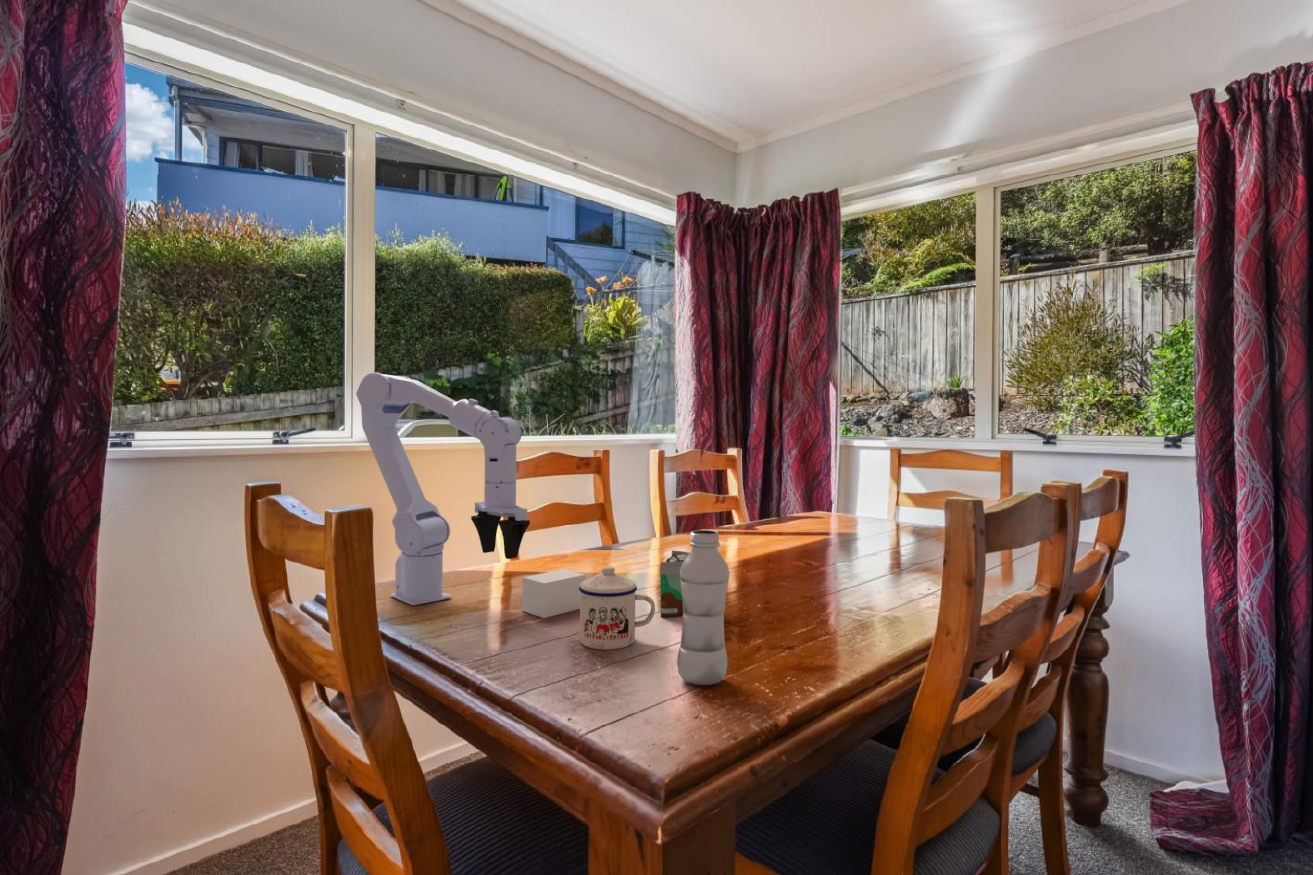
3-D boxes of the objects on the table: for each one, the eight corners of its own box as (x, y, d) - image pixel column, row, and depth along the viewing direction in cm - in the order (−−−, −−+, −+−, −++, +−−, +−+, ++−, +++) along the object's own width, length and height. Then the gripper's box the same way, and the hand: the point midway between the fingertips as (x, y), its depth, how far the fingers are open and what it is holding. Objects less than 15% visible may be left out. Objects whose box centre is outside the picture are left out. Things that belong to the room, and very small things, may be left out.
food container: (693, 622, 115) (694, 564, 115) (659, 619, 116) (659, 562, 116) (703, 603, 127) (704, 551, 127) (671, 601, 128) (672, 549, 128)
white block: (522, 610, 120) (522, 577, 120) (563, 600, 127) (564, 569, 127) (543, 618, 116) (544, 583, 116) (585, 607, 123) (585, 574, 123)
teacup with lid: (576, 651, 100) (577, 574, 99) (580, 632, 109) (580, 561, 108) (656, 651, 100) (657, 574, 100) (653, 632, 109) (654, 561, 109)
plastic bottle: (674, 673, 91) (676, 528, 91) (722, 672, 92) (725, 528, 92) (679, 692, 85) (682, 536, 85) (732, 691, 86) (734, 536, 85)
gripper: (460, 480, 125) (460, 552, 126) (503, 486, 115) (503, 564, 116) (493, 478, 131) (492, 547, 131) (537, 484, 121) (536, 558, 121)
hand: (499, 555), depth 124 cm, fingers open, 7 cm apart
